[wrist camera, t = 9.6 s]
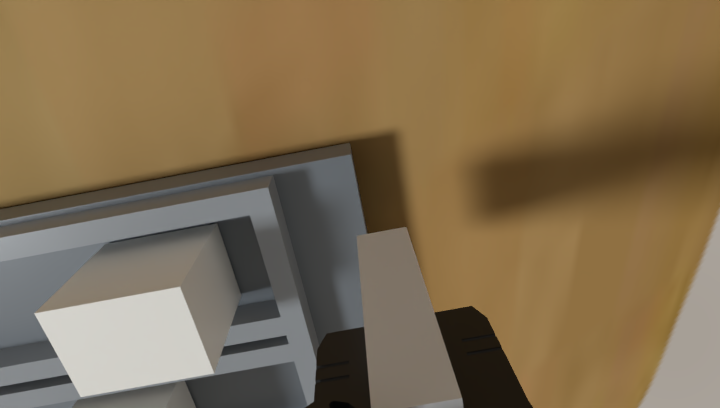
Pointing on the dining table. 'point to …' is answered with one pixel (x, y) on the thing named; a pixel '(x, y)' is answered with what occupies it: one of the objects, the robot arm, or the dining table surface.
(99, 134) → the dining table surface
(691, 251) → the dining table surface
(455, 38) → the dining table surface
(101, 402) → the tab
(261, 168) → the switch board
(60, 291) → the tab
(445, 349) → the robot arm
